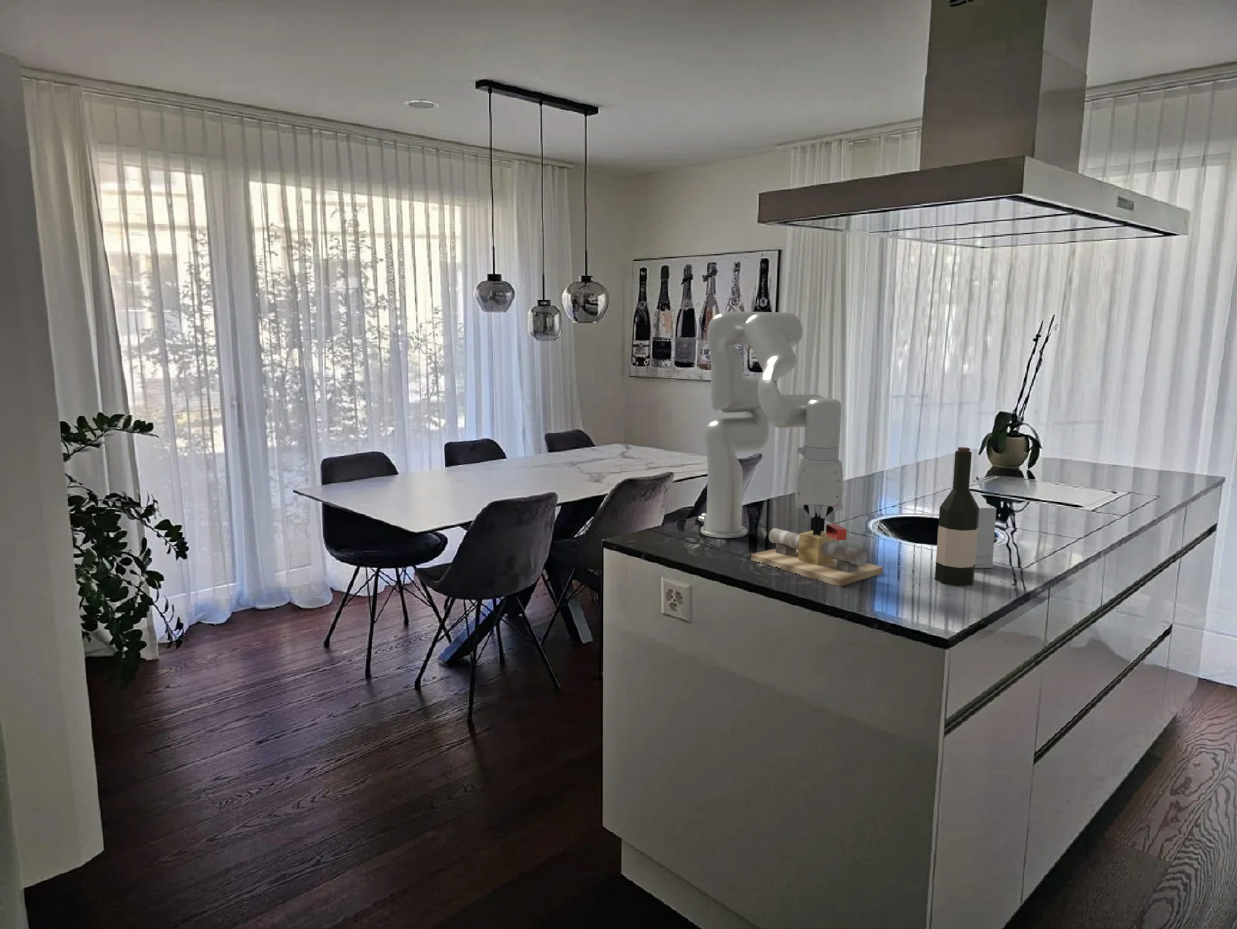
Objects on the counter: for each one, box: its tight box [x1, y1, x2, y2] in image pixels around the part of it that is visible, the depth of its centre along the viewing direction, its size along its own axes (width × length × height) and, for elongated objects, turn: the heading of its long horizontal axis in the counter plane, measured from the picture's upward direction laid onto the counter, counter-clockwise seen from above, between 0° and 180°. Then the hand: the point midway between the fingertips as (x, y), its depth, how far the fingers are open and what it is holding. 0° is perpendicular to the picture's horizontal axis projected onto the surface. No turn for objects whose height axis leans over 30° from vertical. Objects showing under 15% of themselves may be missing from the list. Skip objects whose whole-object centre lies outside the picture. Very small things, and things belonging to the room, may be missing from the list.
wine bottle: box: [934, 446, 979, 587], centre depth 183 cm, size 8×8×30 cm
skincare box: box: [975, 501, 997, 569], centre depth 196 cm, size 8×6×15 cm
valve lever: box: [822, 519, 848, 541], centre depth 189 cm, size 3×14×2 cm, turn 12°
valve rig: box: [750, 527, 884, 587], centre depth 195 cm, size 26×16×10 cm, turn 38°
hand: (817, 533), depth 188 cm, fingers closed
